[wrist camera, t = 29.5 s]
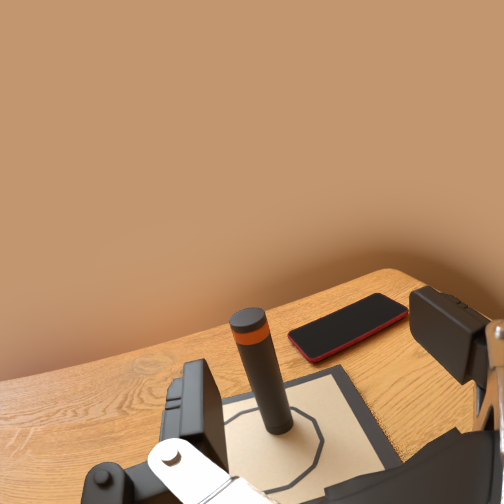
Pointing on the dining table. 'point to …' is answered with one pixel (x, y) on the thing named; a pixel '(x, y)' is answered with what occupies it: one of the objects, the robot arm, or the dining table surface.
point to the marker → (262, 368)
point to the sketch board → (306, 439)
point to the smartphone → (346, 326)
